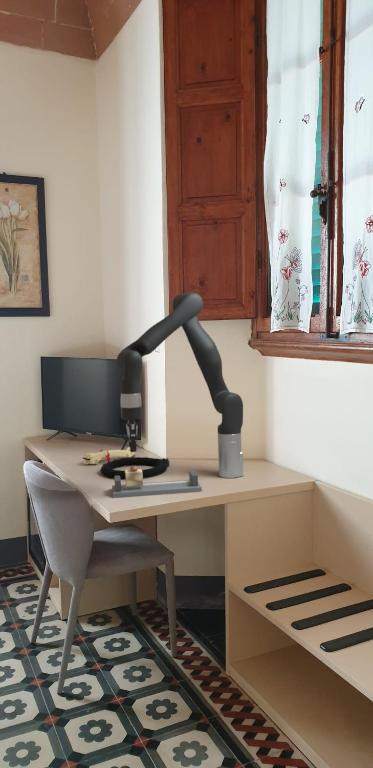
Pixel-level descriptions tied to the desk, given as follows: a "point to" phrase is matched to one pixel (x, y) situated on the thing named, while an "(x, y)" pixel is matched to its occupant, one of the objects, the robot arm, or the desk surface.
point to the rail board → (157, 487)
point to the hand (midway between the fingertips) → (132, 449)
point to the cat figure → (107, 455)
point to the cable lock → (158, 464)
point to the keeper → (134, 477)
